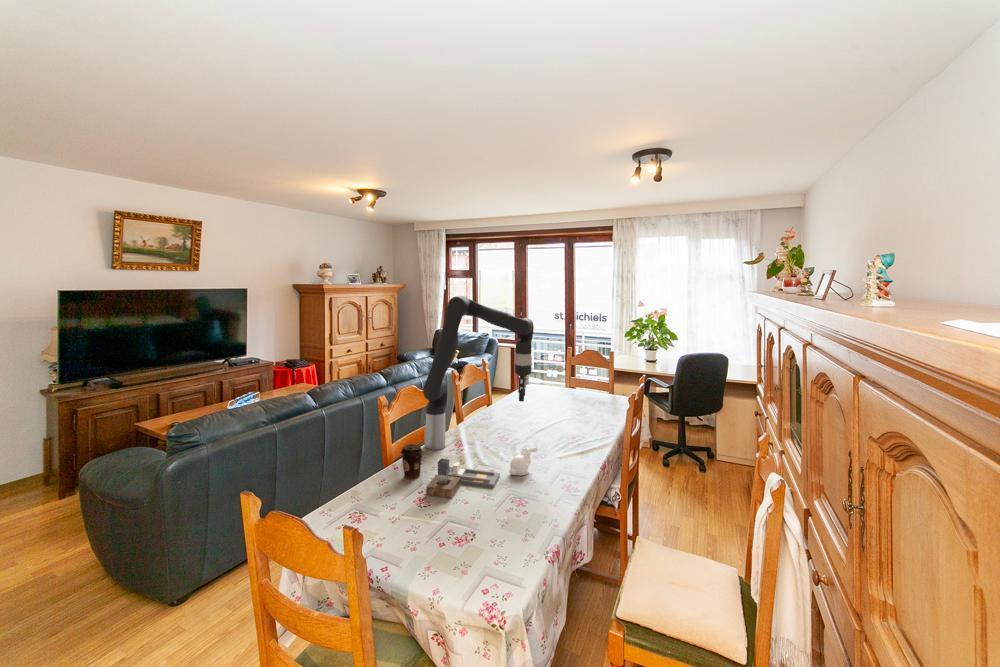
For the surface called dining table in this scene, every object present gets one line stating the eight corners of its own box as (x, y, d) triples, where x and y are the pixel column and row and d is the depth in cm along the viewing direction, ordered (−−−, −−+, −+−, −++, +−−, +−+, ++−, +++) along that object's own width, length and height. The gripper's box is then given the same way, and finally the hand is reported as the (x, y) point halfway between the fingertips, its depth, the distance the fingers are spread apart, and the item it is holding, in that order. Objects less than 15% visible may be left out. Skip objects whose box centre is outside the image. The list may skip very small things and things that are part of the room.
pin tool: (437, 492, 164) (437, 462, 162) (441, 487, 167) (441, 458, 166) (446, 493, 163) (446, 463, 162) (449, 489, 167) (449, 459, 165)
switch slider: (452, 475, 174) (452, 466, 174) (456, 470, 179) (456, 461, 179) (461, 476, 173) (461, 467, 173) (465, 471, 178) (465, 462, 178)
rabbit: (522, 465, 190) (523, 439, 188) (539, 472, 183) (540, 445, 182) (504, 474, 181) (504, 447, 179) (521, 481, 174) (521, 453, 173)
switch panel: (440, 482, 173) (440, 475, 173) (449, 471, 183) (449, 464, 182) (493, 489, 168) (493, 481, 167) (499, 477, 177) (499, 470, 177)
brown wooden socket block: (426, 496, 162) (426, 486, 161) (436, 484, 171) (436, 474, 171) (451, 499, 159) (451, 489, 159) (460, 487, 169) (460, 477, 168)
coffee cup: (403, 483, 172) (402, 452, 170) (399, 474, 179) (398, 444, 177) (424, 479, 175) (424, 449, 173) (420, 471, 183) (419, 441, 181)
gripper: (516, 359, 198) (515, 393, 201) (513, 365, 184) (512, 402, 187) (532, 360, 198) (531, 394, 200) (530, 366, 184) (529, 403, 186)
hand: (522, 398), depth 193 cm, fingers open, 8 cm apart
